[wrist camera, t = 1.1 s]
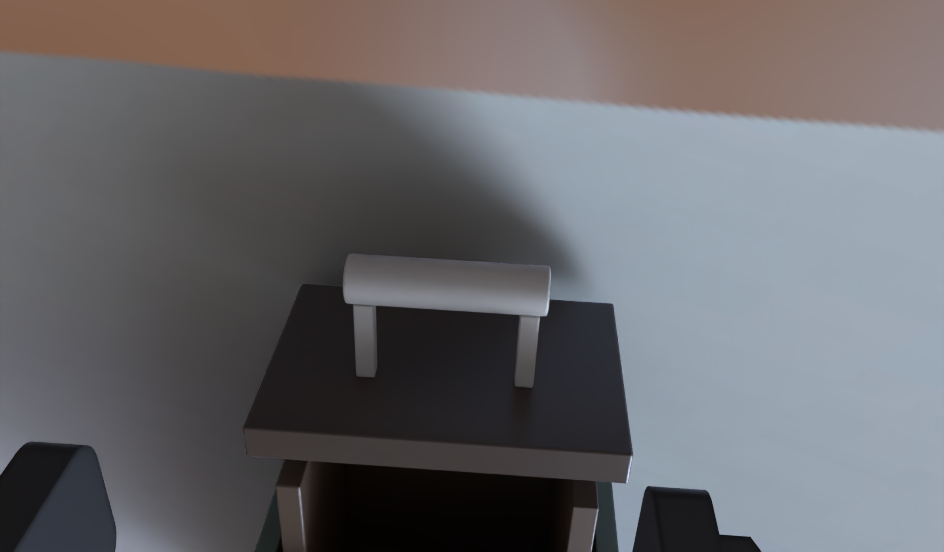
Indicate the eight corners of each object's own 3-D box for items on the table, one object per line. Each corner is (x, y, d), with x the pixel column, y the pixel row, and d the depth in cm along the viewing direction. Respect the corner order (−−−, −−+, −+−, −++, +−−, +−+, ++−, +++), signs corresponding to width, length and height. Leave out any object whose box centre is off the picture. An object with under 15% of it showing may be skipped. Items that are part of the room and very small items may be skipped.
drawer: (293, 177, 30) (225, 307, 23) (629, 198, 30) (655, 335, 23) (321, 534, 40) (279, 697, 33) (576, 553, 39) (584, 722, 33)
